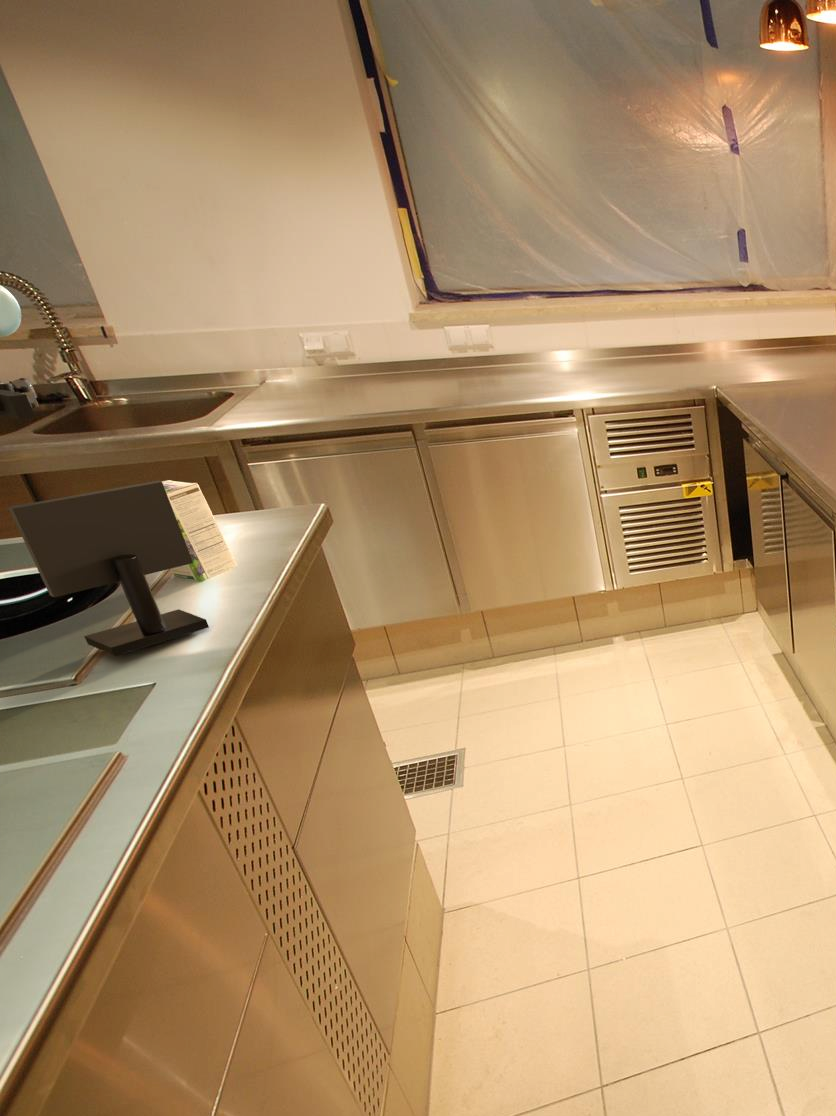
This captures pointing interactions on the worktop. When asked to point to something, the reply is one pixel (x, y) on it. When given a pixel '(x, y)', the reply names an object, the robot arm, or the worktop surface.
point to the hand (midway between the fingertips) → (22, 406)
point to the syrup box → (198, 533)
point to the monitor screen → (100, 535)
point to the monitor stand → (142, 615)
